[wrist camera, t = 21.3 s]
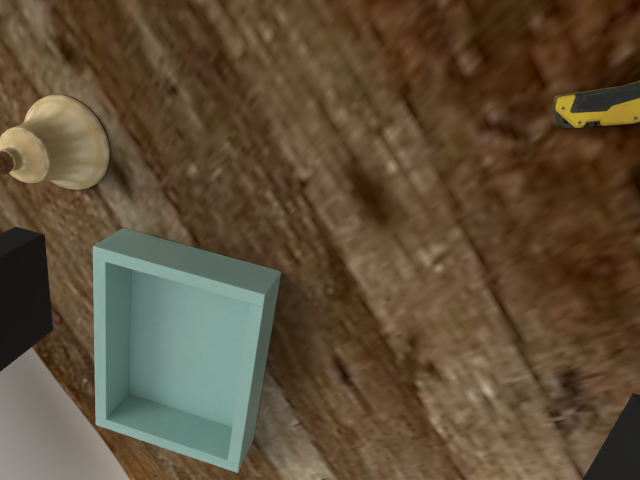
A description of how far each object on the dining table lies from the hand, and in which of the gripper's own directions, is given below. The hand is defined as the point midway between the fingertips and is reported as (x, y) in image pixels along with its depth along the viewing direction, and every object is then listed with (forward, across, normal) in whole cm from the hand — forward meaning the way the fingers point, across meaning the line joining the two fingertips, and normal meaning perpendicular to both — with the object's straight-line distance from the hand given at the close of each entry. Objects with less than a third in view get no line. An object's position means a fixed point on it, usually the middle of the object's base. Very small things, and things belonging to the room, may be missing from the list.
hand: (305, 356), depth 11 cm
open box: (+28, -15, -25) cm, 40 cm away
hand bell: (+28, -28, -8) cm, 41 cm away
